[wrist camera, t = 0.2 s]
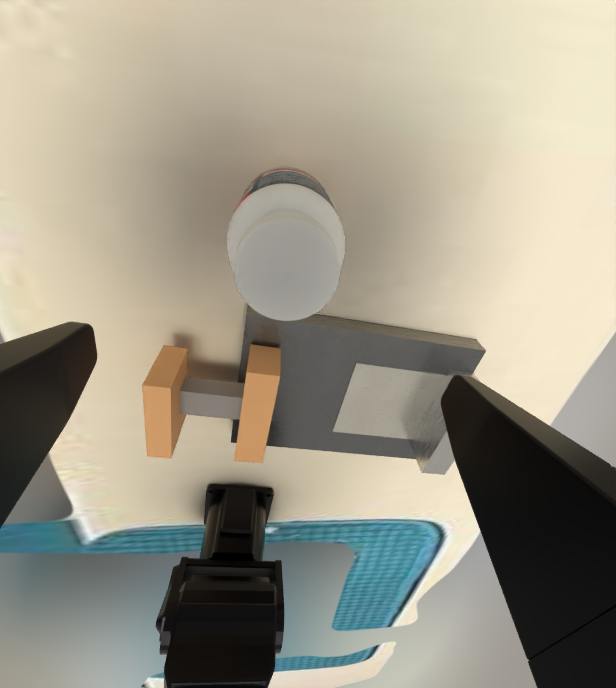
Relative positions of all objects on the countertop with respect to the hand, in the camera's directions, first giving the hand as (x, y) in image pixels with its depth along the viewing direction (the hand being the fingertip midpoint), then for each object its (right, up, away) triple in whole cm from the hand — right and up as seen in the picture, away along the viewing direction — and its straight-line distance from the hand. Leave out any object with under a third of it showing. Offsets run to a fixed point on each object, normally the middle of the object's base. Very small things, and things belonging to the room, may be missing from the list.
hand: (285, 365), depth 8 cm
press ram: (-6, -3, +16) cm, 17 cm away
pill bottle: (-1, +8, +12) cm, 14 cm away
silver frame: (+4, -3, +19) cm, 19 cm away
